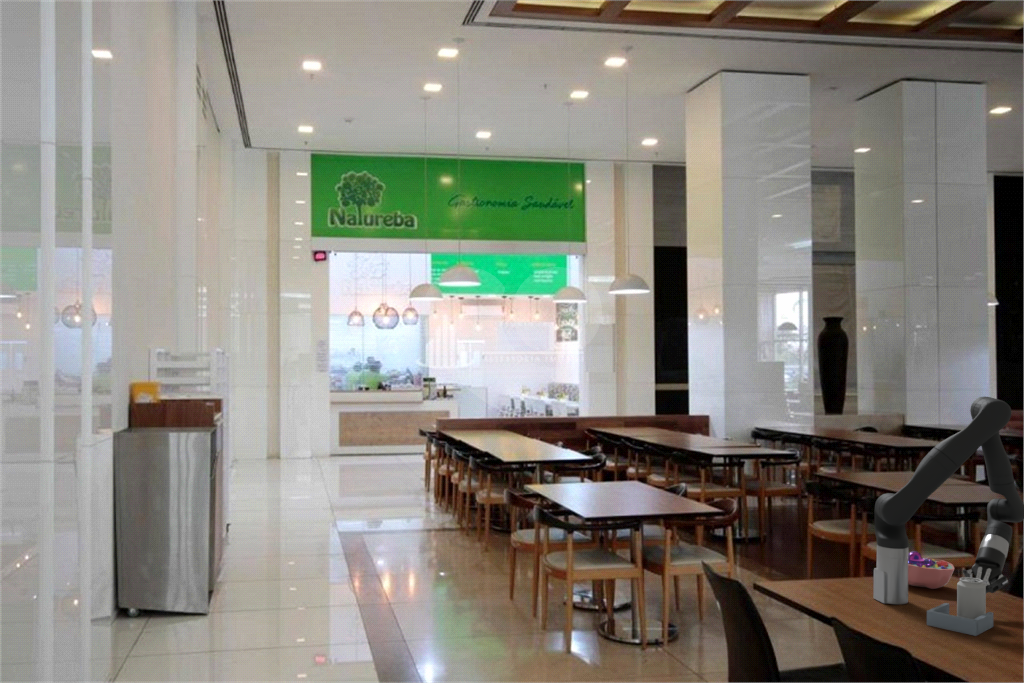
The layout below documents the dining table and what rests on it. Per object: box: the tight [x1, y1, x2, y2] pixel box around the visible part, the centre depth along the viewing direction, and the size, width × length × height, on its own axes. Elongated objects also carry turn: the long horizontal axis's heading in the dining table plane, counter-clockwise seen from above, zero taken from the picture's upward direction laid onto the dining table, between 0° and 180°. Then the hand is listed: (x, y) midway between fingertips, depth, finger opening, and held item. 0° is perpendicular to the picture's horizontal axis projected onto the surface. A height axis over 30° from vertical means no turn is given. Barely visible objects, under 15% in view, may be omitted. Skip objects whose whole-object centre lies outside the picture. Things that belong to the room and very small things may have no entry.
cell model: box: [908, 550, 955, 590], centre depth 306 cm, size 17×20×11 cm
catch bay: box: [926, 602, 994, 637], centre depth 263 cm, size 13×13×4 cm
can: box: [956, 576, 987, 619], centre depth 268 cm, size 8×8×12 cm
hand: (977, 601), depth 271 cm, fingers closed
